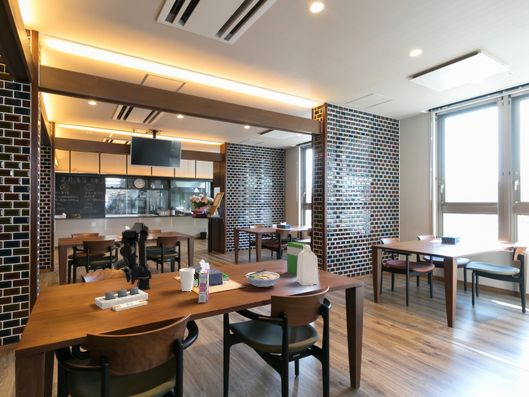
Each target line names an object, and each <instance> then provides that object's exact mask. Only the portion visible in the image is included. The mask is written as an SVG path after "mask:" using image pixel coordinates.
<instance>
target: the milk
mask: <svg viewBox="0 0 529 397" xmlns="http://www.w3.org/2000/svg"><path fill="white" fill-rule="evenodd" d="M318 264H319V263H318V256H317V254H315V253H314V252H313V251H312V249H311V246H310V244H309V245H305V248H304V249H303V250H302V251H301V252H300V253H299V255H298V262H297V275H296V282H297V283H298V282H299V283H298V284H300V285H301V286H302V285H306V286H314V285H313V284H319V267H318Z"/></svg>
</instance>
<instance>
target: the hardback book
mask: <svg viewBox="0 0 529 397" xmlns="http://www.w3.org/2000/svg"><path fill="white" fill-rule="evenodd" d="M286 244H287V245H286V246H287V247H286V249H287V250H286V273H287V272H289V273H288V274H290V273H292V274H291V275H294V274H295V276H297V262H298V255H299V253H300V252H301V251H302V250H303V249H304V248H305V245H309V246H310V244H309V243H303V242H298V241H290V242H288V241H287V243H286Z"/></svg>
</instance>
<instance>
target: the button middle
mask: <svg viewBox="0 0 529 397" xmlns="http://www.w3.org/2000/svg"><path fill="white" fill-rule="evenodd" d="M127 292H128V291H127V289H126V288H125V289H119V290H117V294H118V297H119V298H121V297H126V296H127Z"/></svg>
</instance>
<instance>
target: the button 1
mask: <svg viewBox="0 0 529 397" xmlns="http://www.w3.org/2000/svg"><path fill="white" fill-rule="evenodd" d="M114 294H115V291H106V292H105V293H104V296H105V300H111V299H114Z"/></svg>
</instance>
